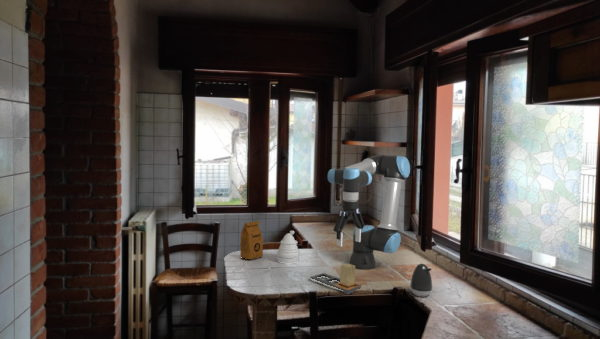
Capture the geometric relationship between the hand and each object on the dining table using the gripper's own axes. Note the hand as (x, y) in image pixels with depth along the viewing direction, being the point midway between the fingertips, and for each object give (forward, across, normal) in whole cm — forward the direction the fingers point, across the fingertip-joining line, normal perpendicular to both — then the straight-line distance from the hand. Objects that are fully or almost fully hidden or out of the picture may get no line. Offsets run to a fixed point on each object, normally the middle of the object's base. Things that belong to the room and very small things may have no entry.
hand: (348, 243), depth 224 cm
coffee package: (+23, +4, -71) cm, 75 cm away
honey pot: (+23, -9, -53) cm, 59 cm away
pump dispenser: (+23, -22, +28) cm, 42 cm away
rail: (+23, 0, -8) cm, 24 cm away
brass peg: (+23, 0, 0) cm, 23 cm away
